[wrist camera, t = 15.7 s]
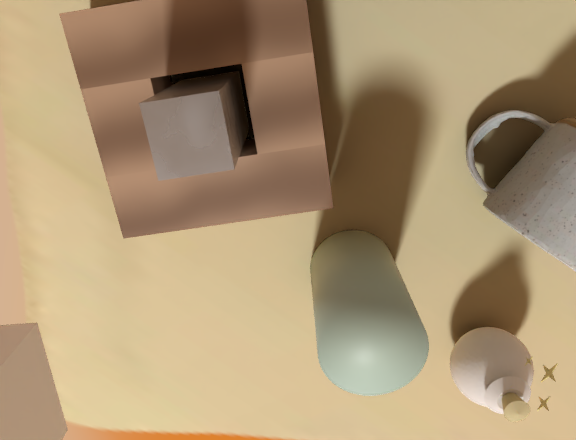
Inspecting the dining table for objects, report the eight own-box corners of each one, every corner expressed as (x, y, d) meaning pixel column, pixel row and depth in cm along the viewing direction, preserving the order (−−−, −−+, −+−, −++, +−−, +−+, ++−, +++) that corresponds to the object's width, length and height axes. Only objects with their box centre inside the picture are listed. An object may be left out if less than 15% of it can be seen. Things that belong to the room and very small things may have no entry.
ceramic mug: (620, 157, 38) (697, 187, 31) (544, 245, 40) (598, 292, 33) (506, 77, 36) (559, 89, 29) (434, 174, 38) (465, 208, 31)
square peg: (181, 80, 36) (139, 103, 26) (238, 71, 36) (219, 90, 25) (194, 137, 37) (158, 180, 27) (249, 128, 37) (234, 169, 27)
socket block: (90, 15, 34) (59, 13, 30) (300, -21, 34) (302, -28, 29) (143, 212, 39) (123, 238, 35) (327, 185, 39) (333, 208, 34)
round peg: (304, 236, 40) (310, 310, 30) (389, 224, 40) (425, 294, 29) (316, 309, 42) (325, 401, 32) (396, 299, 42) (431, 388, 32)
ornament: (426, 356, 44) (463, 446, 34) (479, 286, 42) (535, 363, 32) (484, 384, 45) (536, 480, 36) (540, 319, 43) (610, 402, 33)
